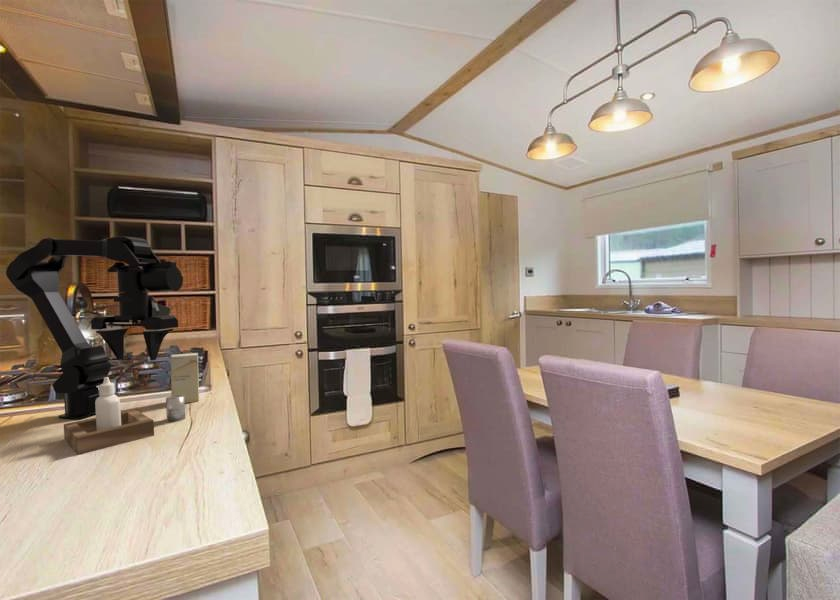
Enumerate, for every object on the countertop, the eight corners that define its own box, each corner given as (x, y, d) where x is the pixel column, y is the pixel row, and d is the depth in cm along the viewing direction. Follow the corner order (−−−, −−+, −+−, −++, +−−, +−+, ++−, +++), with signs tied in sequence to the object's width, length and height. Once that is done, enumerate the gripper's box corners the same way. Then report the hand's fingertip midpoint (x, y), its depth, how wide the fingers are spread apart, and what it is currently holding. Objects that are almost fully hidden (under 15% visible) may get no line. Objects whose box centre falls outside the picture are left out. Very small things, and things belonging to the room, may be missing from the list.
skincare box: (171, 405, 105) (169, 357, 104) (172, 400, 109) (170, 354, 108) (199, 401, 108) (197, 354, 107) (199, 397, 112) (198, 352, 111)
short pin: (162, 421, 92) (161, 399, 92) (175, 416, 96) (174, 394, 96) (176, 422, 91) (175, 399, 91) (189, 417, 95) (188, 395, 95)
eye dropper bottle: (124, 430, 87) (121, 373, 86) (120, 439, 82) (117, 378, 81) (98, 434, 85) (95, 376, 84) (93, 443, 80) (89, 381, 79)
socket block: (64, 439, 82) (63, 424, 82) (135, 422, 92) (134, 409, 91) (78, 454, 75) (77, 438, 75) (154, 435, 84) (153, 420, 84)
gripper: (194, 290, 102) (197, 354, 102) (131, 291, 106) (134, 353, 106) (156, 292, 91) (159, 363, 91) (87, 293, 95) (91, 361, 95)
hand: (136, 359), depth 96 cm, fingers open, 9 cm apart
